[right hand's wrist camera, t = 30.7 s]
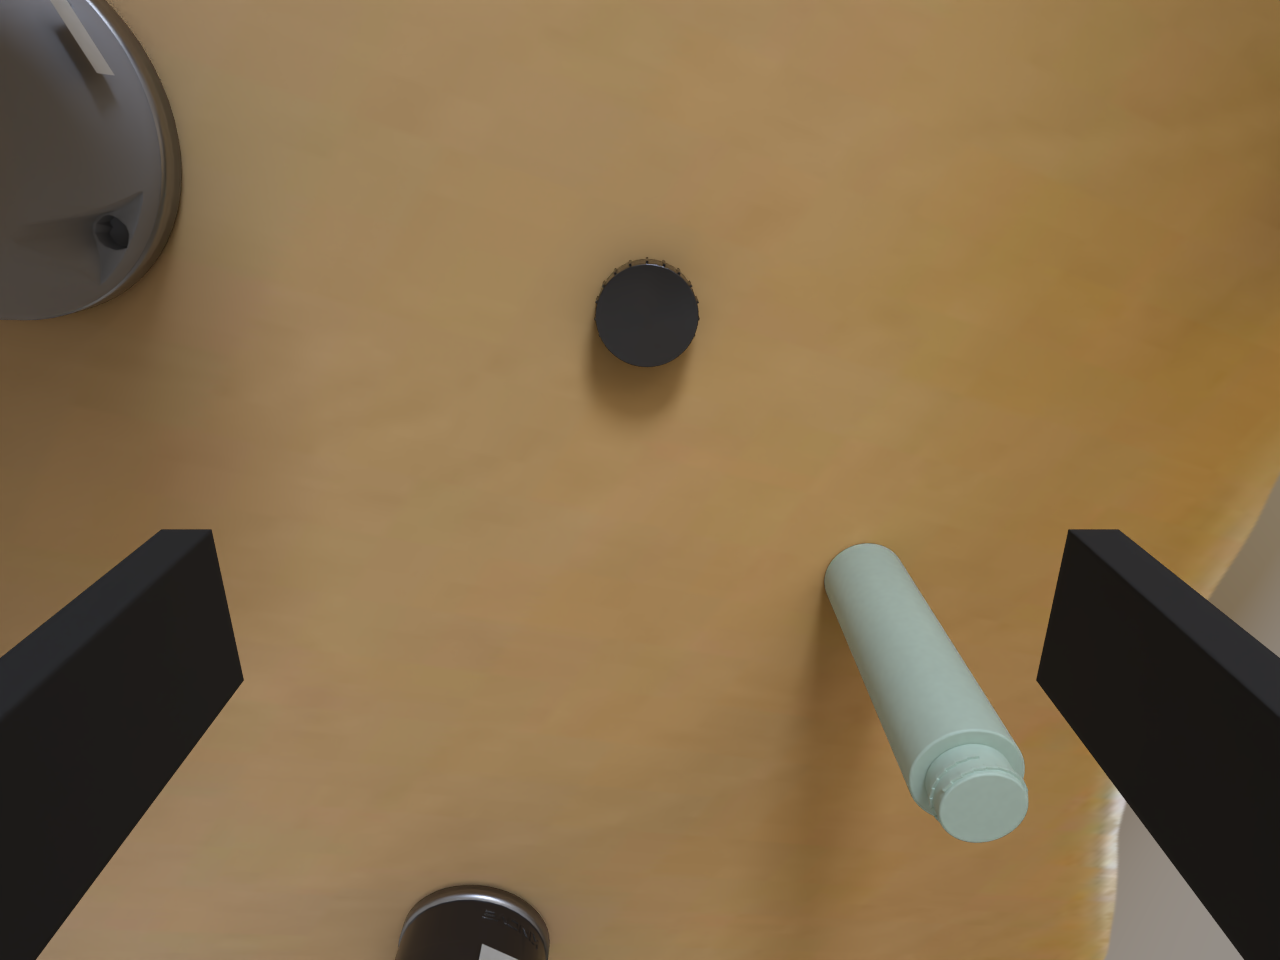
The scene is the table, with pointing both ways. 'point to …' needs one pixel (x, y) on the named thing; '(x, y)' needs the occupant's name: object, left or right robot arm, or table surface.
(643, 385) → the table surface
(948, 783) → the bottle
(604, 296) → the lid
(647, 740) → the table surface
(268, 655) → the table surface
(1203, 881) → the right robot arm
